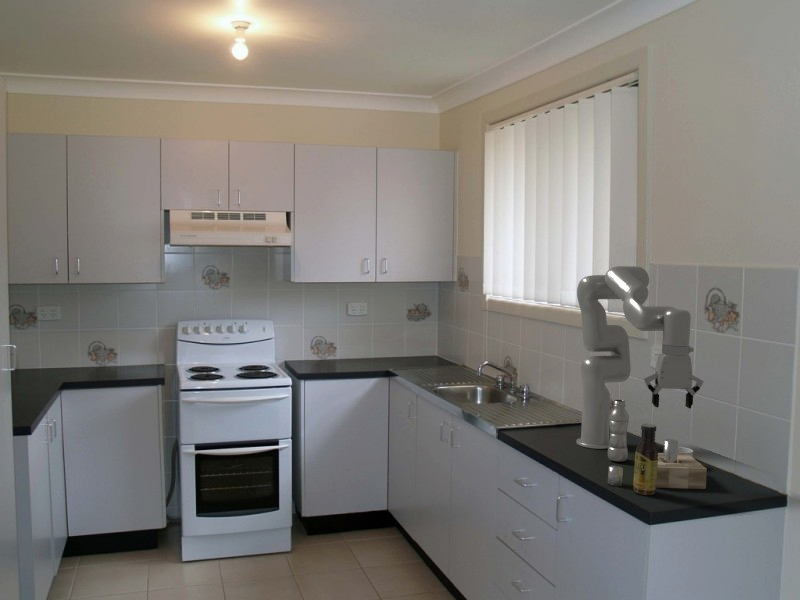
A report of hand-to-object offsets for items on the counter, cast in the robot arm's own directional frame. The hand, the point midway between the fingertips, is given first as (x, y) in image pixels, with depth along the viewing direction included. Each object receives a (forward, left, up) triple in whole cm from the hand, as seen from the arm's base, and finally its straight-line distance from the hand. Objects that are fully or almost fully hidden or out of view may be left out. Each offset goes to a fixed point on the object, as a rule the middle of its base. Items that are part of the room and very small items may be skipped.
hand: (672, 406), depth 231 cm
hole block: (0, 0, -22) cm, 22 cm away
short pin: (+6, -18, -22) cm, 29 cm away
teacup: (-15, +7, -23) cm, 28 cm away
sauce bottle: (+14, -11, -23) cm, 28 cm away
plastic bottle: (-19, -11, -23) cm, 31 cm away
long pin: (0, 0, -22) cm, 22 cm away
